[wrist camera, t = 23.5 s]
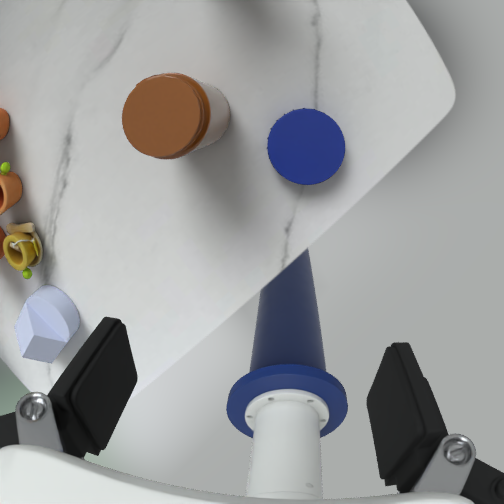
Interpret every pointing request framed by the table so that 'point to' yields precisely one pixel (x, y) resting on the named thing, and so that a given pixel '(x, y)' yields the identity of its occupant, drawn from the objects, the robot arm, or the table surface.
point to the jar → (174, 115)
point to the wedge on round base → (46, 324)
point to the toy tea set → (22, 235)
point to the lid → (306, 146)
